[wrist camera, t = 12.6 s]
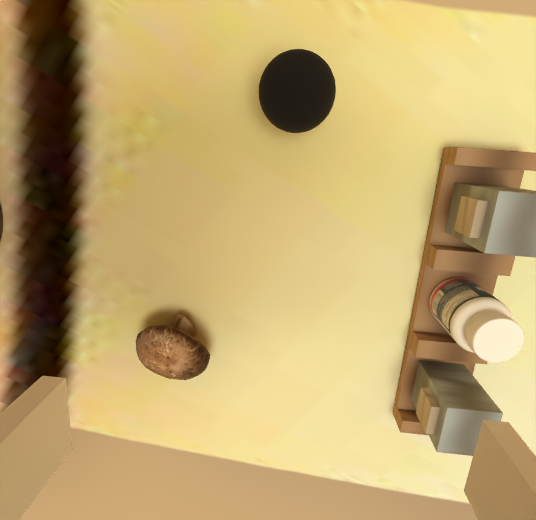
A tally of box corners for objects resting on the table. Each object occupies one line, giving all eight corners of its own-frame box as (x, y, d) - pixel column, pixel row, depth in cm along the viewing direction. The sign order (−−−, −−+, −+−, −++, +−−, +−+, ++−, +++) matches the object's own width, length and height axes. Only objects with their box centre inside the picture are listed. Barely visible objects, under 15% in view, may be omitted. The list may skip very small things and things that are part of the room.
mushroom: (178, 295, 39) (155, 352, 35) (233, 331, 43) (217, 385, 39) (138, 310, 44) (113, 361, 40) (190, 341, 48) (172, 390, 44)
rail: (392, 412, 45) (417, 477, 36) (443, 147, 36) (492, 146, 27) (455, 419, 44) (495, 485, 35) (520, 153, 36) (595, 153, 27)
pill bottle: (490, 306, 39) (545, 349, 30) (444, 332, 40) (485, 381, 32) (464, 266, 38) (513, 299, 30) (418, 294, 39) (453, 334, 31)
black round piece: (340, 101, 36) (357, 83, 26) (296, 149, 37) (298, 148, 28) (295, 55, 35) (296, 18, 25) (252, 105, 36) (238, 89, 27)
